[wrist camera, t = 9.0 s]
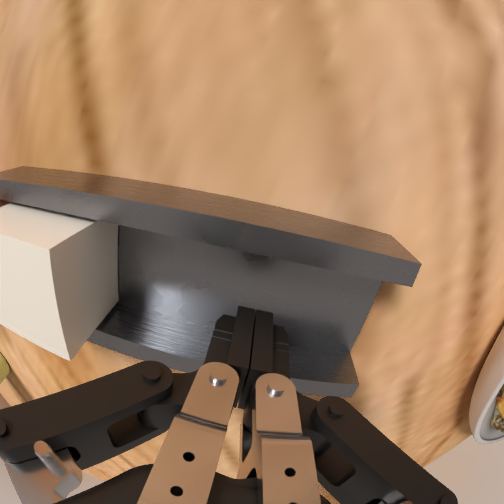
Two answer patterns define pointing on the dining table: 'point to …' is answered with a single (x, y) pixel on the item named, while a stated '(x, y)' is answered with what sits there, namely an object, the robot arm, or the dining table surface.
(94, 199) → the chute
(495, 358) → the bowl
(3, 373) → the tube
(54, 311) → the block
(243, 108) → the dining table surface
